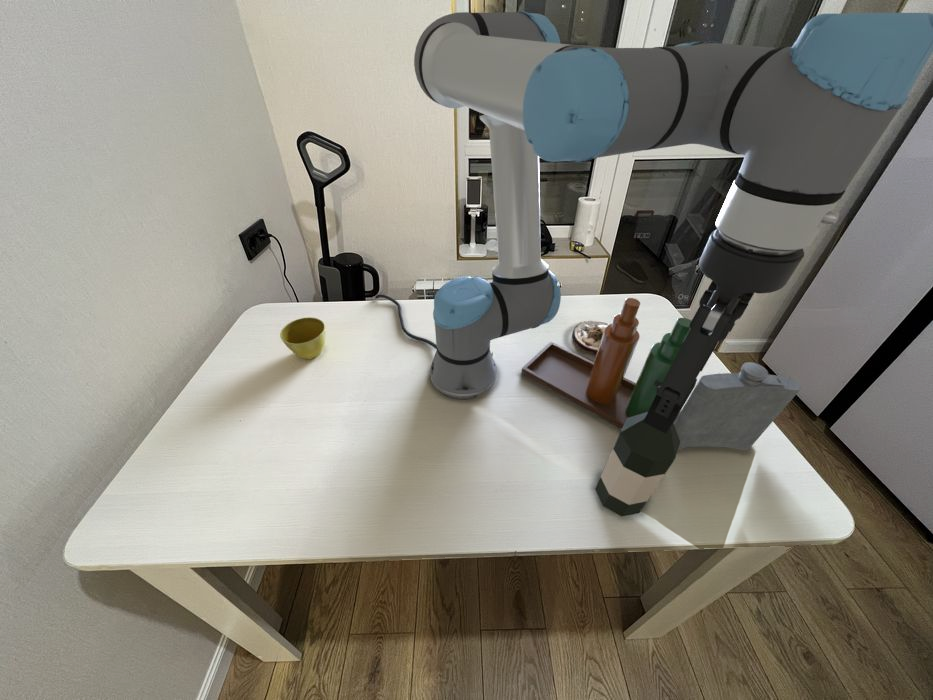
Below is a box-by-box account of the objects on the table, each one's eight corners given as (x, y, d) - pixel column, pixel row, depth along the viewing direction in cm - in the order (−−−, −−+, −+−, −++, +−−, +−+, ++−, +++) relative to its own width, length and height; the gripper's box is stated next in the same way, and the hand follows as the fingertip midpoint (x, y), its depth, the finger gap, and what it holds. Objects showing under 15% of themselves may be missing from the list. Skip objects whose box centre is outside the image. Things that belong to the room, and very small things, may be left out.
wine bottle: (648, 521, 63) (732, 403, 43) (596, 511, 64) (654, 392, 44) (641, 476, 69) (712, 354, 49) (593, 468, 70) (644, 346, 50)
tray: (520, 375, 88) (521, 368, 86) (549, 348, 95) (550, 341, 94) (656, 451, 72) (660, 445, 71) (678, 412, 80) (682, 405, 78)
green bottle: (619, 415, 78) (658, 323, 62) (632, 397, 82) (672, 306, 66) (650, 432, 75) (700, 339, 59) (662, 412, 79) (711, 321, 63)
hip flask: (667, 450, 73) (712, 378, 59) (660, 433, 76) (701, 360, 62) (751, 452, 72) (815, 380, 59) (740, 434, 75) (799, 362, 62)
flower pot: (298, 372, 89) (288, 349, 84) (283, 350, 95) (274, 328, 90) (338, 354, 93) (331, 332, 89) (322, 334, 99) (314, 312, 95)
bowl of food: (558, 349, 95) (560, 336, 92) (576, 318, 104) (579, 306, 102) (618, 369, 89) (623, 357, 86) (631, 335, 99) (635, 322, 96)
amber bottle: (580, 394, 83) (607, 303, 67) (594, 378, 86) (622, 288, 70) (608, 408, 79) (643, 317, 63) (620, 391, 83) (657, 300, 67)
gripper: (781, 314, 26) (671, 477, 40) (824, 208, 40) (731, 356, 54) (669, 277, 29) (604, 438, 43) (745, 192, 43) (677, 335, 57)
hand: (674, 393), depth 49 cm, fingers open, 13 cm apart
